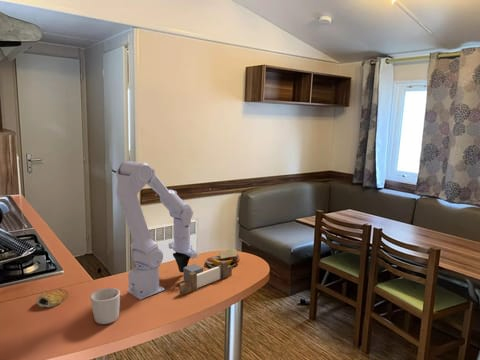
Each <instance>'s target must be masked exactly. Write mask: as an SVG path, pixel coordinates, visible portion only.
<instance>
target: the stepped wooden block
mask: <svg viewBox="0 0 480 360" xmlns="http://www.w3.org/2000/svg"><path fill="white" fill-rule="evenodd" d="M220 265H221V278H220V279H223V280H225V279H228V277H231V276H232V275H233V267H232V266H230V265H229V266H228V262H227V261H224V260H223V261H221V262H220ZM196 291H198V288H197V273H195V272H190V273H188V281H187V282H185V281H183V282H182V283H180V284H179V295H180V296H184V295H186V294H188V293H189V294H190V293H191V292H192V293H193V292H196Z"/></svg>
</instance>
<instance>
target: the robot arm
mask: <svg viewBox="0 0 480 360" xmlns="http://www.w3.org/2000/svg"><path fill="white" fill-rule="evenodd" d="M115 174H116V177H117V185H116V188H117V189H116V195H117V197H118V201H119V203H120V207H121V210H122V213H123V215H124V218H125V221H126V223H127V227H128V229H129V232H130V235H131V237H132V242H131V244H129V245H130V249H131V251H130V252H131V253H130V255H131V259H132V260H133V261H134V264H135V267H134V268H133V269H130V270H129V272H128V275H127V276H128V290H127V292H128V293H129V294H131V295H133V296H134V297H135V298H136V299H138V300H143V299H146V298H148V297H151V296H153V295H154V296H155V294H158V293H162V292H163V291H165V290H166V289H165V288H164V287H163V286H160V271H159V269H160V266H161V264H162V262H163V259H164V253H163V251H162V250H161V249H160V248H159V245H158V244H157V242H156V241H155V240H154V239H153V238H152V237H151V235H150V231H149V229H148V225H147V222H146V219H145V216H144V213H143V210H142V206H141V203H140V199H139V198H138V194H139V193H140V192H141V191H142V190H143V189H144V187H145V186H146V185H147V186H149V187H150V189H152V190H153V191H154V192H155V193H156V194H157V195H159V202H160V203H161V204H162V205H163V206H164V207H165V208H166V209H167V210H168V212H169V216H170V217H171V218H173V241H172V242H169V243H168V249H169V250H170V249H172V250H173V251H174V252H173V253H172V257H174V260H175V261H176V265H177V269H178V272H179V273H183V268H184V267H187V266H189V265H188V264H189V263H190V262H189V261H190V259H192V260H193V259H197V258H198V253H197V252H196V251H195V250H194V249H193V245H191V226H190V225H191V223H192V221H191V220H192V217H193V215H194V211H193V209H192V207H191V206H190V205H189V204H186V203H185V200H184V199H182V198H180V196H179V195H178V192H177V190H173V189H168V187H166V185H165V183H163V181H162V180H161V179H160V177H158V175H157V174H156V171H155V169H154V168H152V166H151V165H150V164H149V163H147V162H137V161H131V160H128V159H127V160H124V161H122V162H121V163H120V164H119V166H118V168H117V170H116V171H115Z"/></svg>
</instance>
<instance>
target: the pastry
mask: <svg viewBox="0 0 480 360" xmlns="http://www.w3.org/2000/svg"><path fill="white" fill-rule="evenodd" d="M68 296H69V292H68V290H67V289H65V288H61V287H59V288H57V289H51V290H45V292H44V293H41V294H40V295H39V296H38V298H37V300H36V302H35V303H36V305H37V306H38V307H40V308H55V307H56V306H58V305H59V304H62V303H63V302H64V301H65V300H66V299H67V298H68Z"/></svg>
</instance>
